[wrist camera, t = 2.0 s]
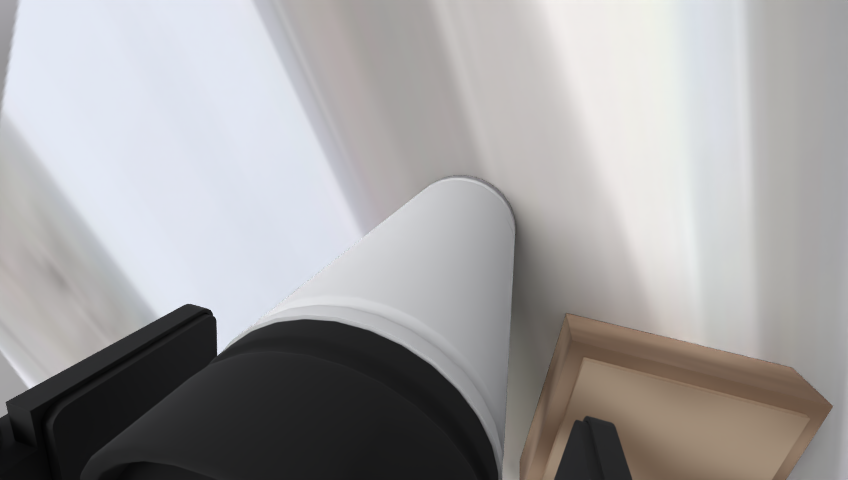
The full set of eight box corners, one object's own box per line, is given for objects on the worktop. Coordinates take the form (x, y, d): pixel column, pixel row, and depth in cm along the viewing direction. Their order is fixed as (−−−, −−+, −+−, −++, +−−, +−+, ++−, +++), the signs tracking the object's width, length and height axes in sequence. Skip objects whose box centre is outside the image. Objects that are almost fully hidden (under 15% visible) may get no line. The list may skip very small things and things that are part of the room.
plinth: (566, 313, 23) (573, 343, 20) (792, 367, 21) (838, 410, 18) (519, 461, 27) (519, 504, 24) (705, 518, 25) (730, 574, 22)
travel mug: (543, 232, 22) (655, 848, 4) (455, 294, 25) (255, 850, 6) (472, 147, 22) (178, 353, 3) (390, 219, 24) (-48, 575, 6)
